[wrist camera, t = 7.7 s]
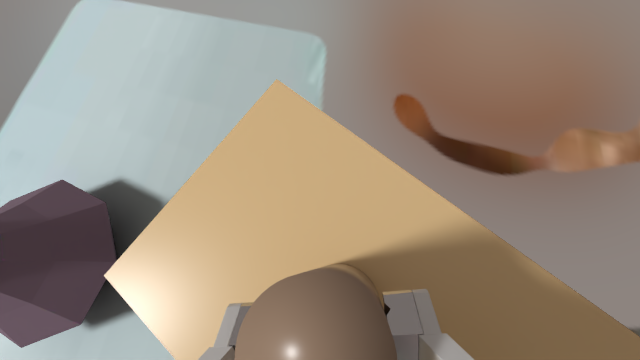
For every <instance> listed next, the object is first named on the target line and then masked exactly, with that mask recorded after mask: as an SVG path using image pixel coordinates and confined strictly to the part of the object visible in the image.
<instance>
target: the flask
mask: <svg viewBox="0 0 640 360" xmlns="http://www.w3.org/2000/svg"><path fill="white" fill-rule="evenodd" d="M116 261H117V257H116V251H115V245H114V239H113V233H112V228H111V223H110V219H109V214H108V210H107V205H106V202H104V201H102V200H100V199H98V198H96V197H94V196H92V195H91V194H89V193H87V192H85V191H83V190H81V189H79V188H77V187H75V186H73V185H72V184H70V183H68V182H66V181H64V180H60V181H58V182H55V183H53V184H50V185H48V186H45V187H43V188H40V189H38V190H36V191H33V192H31V193H28V194H26V195H23V196H21V197H18V198H16V199H14V200H11V201H9V202H8V203H6V204H5V205H4V206H2V207H1V208H0V333H2V334H3V335H4V336H6V337H7V338H8V339H10V340H11V341H13V342H14V343H15V344H17V345H18V346H19V347H21V348H22V347H24V346H27V345H30V344H32V343H35V342H37V341H40V340H42V339H45V338H48V337H50V336H53V335H55V334H58V333H61V332H63V331H66V330H68V329H71V328H73V327H76V326H79V325H81V323H82V322H83V320H84V318H85V316H86V314H87V313H88V311H89V309H90V307H91V306H92V304H93V302H94V300H95V298H96V297H97V295H98V293H99V291H100V290H101V288H102V286H103V284H104V282H105V281H106V278H105V276H104V275H105V274H106V272H107V271H108V270H109V269H110V268H111V267H112V266H113V265H114V263H115V262H116Z"/></svg>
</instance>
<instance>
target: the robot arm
mask: <svg viewBox="0 0 640 360" xmlns="http://www.w3.org/2000/svg"><path fill="white" fill-rule="evenodd" d="M253 303H254V302H248V303H232V304H229V306H228V307H227V308H226V311H225V314H224V317H223V320H222V323H221V326H220V329H219V332H218V335H217V337H216V340H215V343H214V346H213V347H209V348H208V349H207V350H206V351H205V352H204V354H203V355H202V356H201V357H200V358H199V359H198V360H235V347H236V340H237V336H238V333H239V329H240V327H241V324H242V322H243V319H244V317H245V315H246V314H247V312H248V310H249V308H250V307H251V306H252V304H253ZM383 303H384V312H385V315H386V318H387V321H388V324H389V327H390V330H391V333H392V336H393V339H394V342H395V347H396V352H397V360H474V359H473V358H472V357H471V356H470V355H469V354H468V353H467V352H466V351H465V350H464V349H463V348H462V347H460V346H459V345H458V344H457V343H456V342H455V341H454V340H453V339H452V338H451V337H450V336H449V335H448V334H447V333H442V332H441V329H440V326H439V323H438V320H437V317H436V314H435V311H434V308H433V305H432V301H431V298H430V295H429V292H428V290H427V289H417V290H401V291H390V292H383Z"/></svg>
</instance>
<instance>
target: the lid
mask: <svg viewBox="0 0 640 360" xmlns="http://www.w3.org/2000/svg"><path fill="white" fill-rule="evenodd" d="M104 276H105V278H106V279H107V280H108V281H109V282H110V283H111V285H112V286H113V287H114V288H115V289H116V290H117V292H118V293H119V294H120V295H121V296H122V297H123V299H124V300H125V301H126V302H127V303H128V305H129V306H130V307H131V308H132V309H133V310H134V312H135V313H136V314H137V315H138V316H139V317H140V319H141V320H142V321H143V322H144V323H145V324H146V326H147V327H148V328H149V329H150V330H151V331H152V333H153V334H154V335H155V336H156V337H157V338H158V340H159V341H160V342H161V343H162V344H163V345H164V347H165V348H166V349H167V350H168V351H169V352H170V354H171V355H172V356H173V357H174V358H175V360H198V359H199V358H200V357H201V356H202V355H203V354H204V352H205V351H206V350H207V349H208V348H209V347H213V346H214V343H215V340H216V337H217V335H218V332H219V329H220V326H221V323H222V320H223V317H224V314H225V311H226V308H227V307H228V306H229V304H232V303H248V302H254V303H253V304H252V306H251V307H250V308H249V310H248V312H247V314H246V315H245V317H244V319H243V322H242V324H241V327H240V329H239V333H238V336H237V340H236V347H235V360H397V352H396V347H395V342H394V339H393V336H392V333H391V330H390V327H389V324H388V321H387V318H386V315H385V312H384V303H383V292H390V291H401V290H417V289H427V290H428V292H429V295H430V298H431V301H432V305H433V308H434V311H435V314H436V317H437V320H438V323H439V326H440V329H441V332H442V333H447V334H448V335H449V336H450V337H451V338H452V339H453V340H454V341H455V342H456V343H457V344H458V345H459V346H460V347H462V348H463V349H464V350H465V351H466V352H467V353H468V354H469V355H470V356H471V357H472V358H473V359H474V360H640V337H639V336H638V335H636V334H635V333H634V332H632V331H631V330H629V329H628V328H627V327H625V326H624V325H622V324H621V323H619V322H618V321H616V320H615V319H614V318H612V317H611V316H610V315H608V314H607V313H605V312H604V311H602V310H601V309H600V308H598V307H597V306H596V305H594V304H593V303H591V302H590V301H588V300H587V299H586V298H584V297H583V296H581V295H580V294H579V293H577V292H576V291H574V290H573V289H572V288H570V287H569V286H567V285H566V284H564V283H563V282H562V281H560V280H559V279H558V278H556V277H555V276H553V275H552V274H550V273H549V272H548V271H546V270H545V269H543V268H542V267H541V266H539V265H538V264H536V263H535V262H533V261H532V260H531V259H529V258H528V257H526V256H525V255H524V254H522V253H521V252H519V251H518V250H517V249H515V248H514V247H512V246H511V245H510V244H508V243H507V242H505V241H504V240H503V239H501V238H500V237H498V236H497V235H495V234H494V233H493V232H491V231H490V230H488V229H487V228H486V227H484V226H483V225H481V224H480V223H479V222H477V221H476V220H474V219H473V218H472V217H470V216H469V215H467V214H466V213H465V212H463V211H462V210H460V209H459V208H457V207H456V206H455V205H453V204H452V203H450V202H449V201H447V200H446V199H445V198H443V197H442V196H441V195H439V194H438V193H436V192H435V191H433V190H432V189H431V188H429V187H428V186H426V185H425V184H424V183H422V182H421V181H419V180H418V179H417V178H415V177H414V176H412V175H411V174H409V173H408V172H407V171H405V170H404V169H403V168H401V167H400V166H398V165H397V164H395V163H394V162H392V161H391V160H390V159H388V158H387V157H386V156H384V155H383V154H381V153H380V152H379V151H377V150H376V149H374V148H373V147H372V146H370V145H369V144H367V143H366V142H364V141H363V140H361V139H360V138H359V137H357V136H356V135H354V134H353V133H352V132H350V131H349V130H347V129H346V128H345V127H343V126H342V125H341V124H339V123H338V122H336V121H335V120H333V119H332V118H331V117H329V116H328V115H326V114H325V113H324V112H322V111H321V110H319V109H318V108H317V107H315V106H314V105H312V104H311V103H310V102H308V101H307V100H305V99H304V98H302V97H301V96H300V95H298V94H297V93H295V92H294V91H293V90H291V89H290V88H288V87H287V86H286V85H284V84H283V83H281V82H280V81H279V80H277V79H276V80H275V82H274V83H273V84H272V85H271V86H270V87H269V88H268V90H267V91H266V92H265V93H264V94H263V95H262V96H261V98H260V99H259V100H258V101H257V102H256V103H255V104H254V105H253V107H252V108H251V109H250V110H249V111H248V112H247V113H246V115H245V116H244V117H243V118H242V119H241V120H240V121H239V123H238V124H237V125H236V126H235V127H234V128H233V129H232V130H231V132H230V133H229V134H228V135H227V136H226V137H225V138H224V140H223V141H222V142H221V143H220V144H219V145H218V146H217V148H216V149H215V150H214V151H213V152H212V153H211V154H210V155H209V157H208V158H207V159H206V160H205V161H204V162H203V163H202V165H201V166H200V167H199V168H198V169H197V170H196V171H195V173H194V174H193V175H192V176H191V177H190V178H189V179H188V180H187V182H186V183H185V184H184V185H183V186H182V187H181V188H180V190H179V191H178V192H177V193H176V194H175V195H174V196H173V198H172V199H171V200H170V201H169V202H168V203H167V204H166V205H165V207H164V208H163V209H162V210H161V211H160V212H159V213H158V215H157V216H156V217H155V218H154V219H153V220H152V221H151V222H150V224H149V225H148V226H147V227H146V228H145V229H144V230H143V232H142V233H141V234H140V235H139V236H138V237H137V238H136V240H135V241H134V242H133V243H132V244H131V245H130V246H129V247H128V249H127V250H126V251H125V252H124V253H123V254H122V255H121V257H120V258H119V259H118V260H117V261H116V262H115V263H114V265H113V266H112V267H111V268H110V269H109V270H108V271H107V272H106V274H105V275H104Z"/></svg>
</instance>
